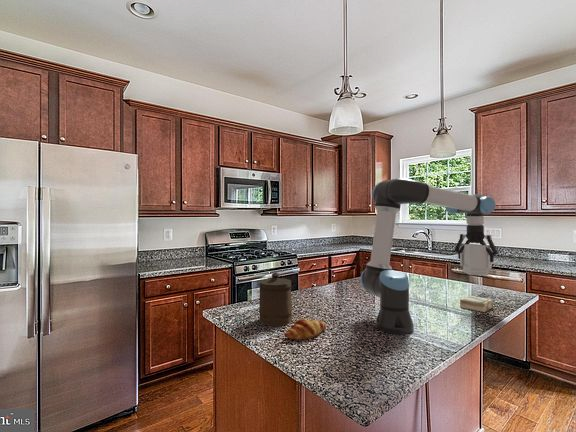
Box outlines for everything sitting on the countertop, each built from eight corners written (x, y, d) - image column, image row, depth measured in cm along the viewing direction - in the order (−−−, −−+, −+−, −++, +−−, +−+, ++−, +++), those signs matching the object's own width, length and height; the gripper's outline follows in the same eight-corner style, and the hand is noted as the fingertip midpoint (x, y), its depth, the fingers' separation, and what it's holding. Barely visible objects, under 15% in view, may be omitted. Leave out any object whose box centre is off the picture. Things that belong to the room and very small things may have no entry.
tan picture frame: (484, 312, 152) (484, 303, 151) (460, 307, 160) (460, 298, 160) (492, 307, 159) (492, 299, 158) (468, 302, 167) (468, 294, 167)
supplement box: (489, 275, 154) (489, 245, 154) (469, 275, 155) (469, 245, 155) (481, 272, 163) (480, 243, 163) (462, 272, 164) (462, 243, 164)
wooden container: (285, 313, 153) (284, 269, 153) (296, 323, 139) (296, 274, 139) (255, 317, 148) (255, 271, 148) (265, 328, 134) (264, 277, 134)
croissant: (321, 334, 135) (315, 316, 138) (336, 330, 128) (329, 310, 131) (281, 346, 123) (276, 326, 126) (295, 342, 115) (289, 320, 118)
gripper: (505, 224, 152) (505, 269, 152) (453, 224, 171) (453, 263, 171) (500, 225, 147) (500, 271, 147) (447, 224, 166) (447, 265, 166)
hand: (475, 267), depth 159 cm, fingers closed on supplement box, 12 cm apart
